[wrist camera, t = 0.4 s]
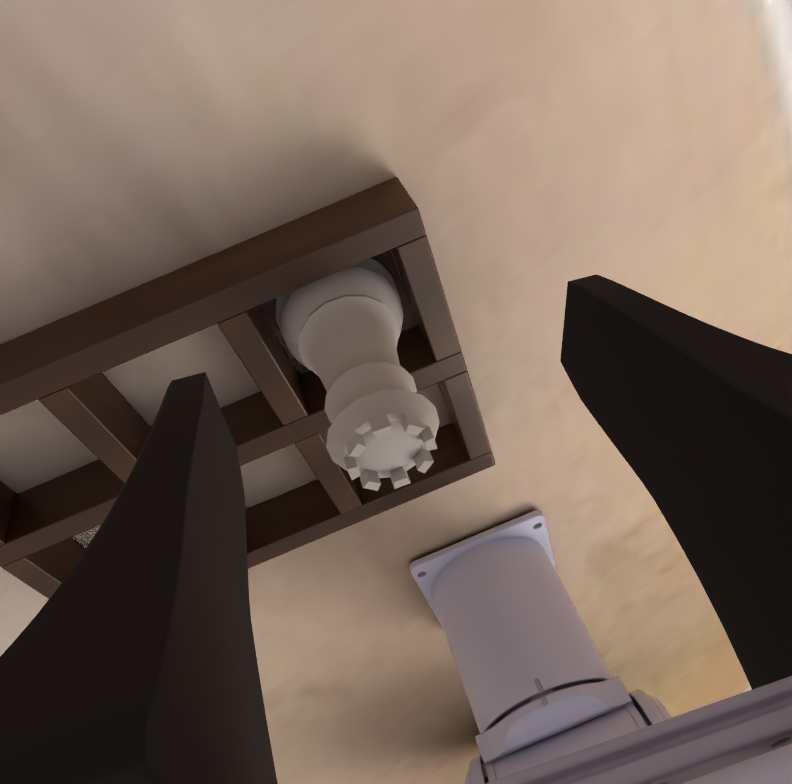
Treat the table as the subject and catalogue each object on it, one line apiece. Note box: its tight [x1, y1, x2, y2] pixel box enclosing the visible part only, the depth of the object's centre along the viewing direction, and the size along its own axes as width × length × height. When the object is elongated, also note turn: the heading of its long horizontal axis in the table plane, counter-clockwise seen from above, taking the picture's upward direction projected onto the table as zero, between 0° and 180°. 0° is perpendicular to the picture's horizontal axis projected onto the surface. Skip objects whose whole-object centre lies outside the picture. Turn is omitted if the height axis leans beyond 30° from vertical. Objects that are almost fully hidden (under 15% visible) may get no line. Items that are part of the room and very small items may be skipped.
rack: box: [0, 177, 495, 599], centre depth 24 cm, size 13×19×2 cm
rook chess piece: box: [276, 258, 439, 491], centre depth 20 cm, size 4×4×8 cm
